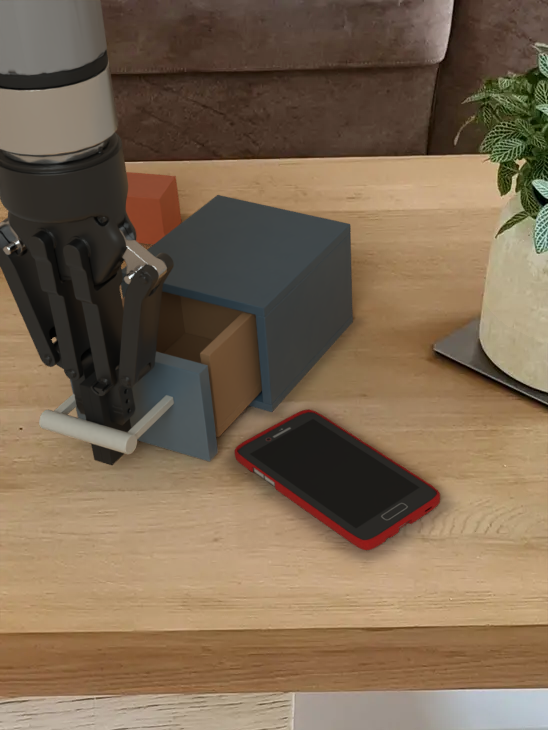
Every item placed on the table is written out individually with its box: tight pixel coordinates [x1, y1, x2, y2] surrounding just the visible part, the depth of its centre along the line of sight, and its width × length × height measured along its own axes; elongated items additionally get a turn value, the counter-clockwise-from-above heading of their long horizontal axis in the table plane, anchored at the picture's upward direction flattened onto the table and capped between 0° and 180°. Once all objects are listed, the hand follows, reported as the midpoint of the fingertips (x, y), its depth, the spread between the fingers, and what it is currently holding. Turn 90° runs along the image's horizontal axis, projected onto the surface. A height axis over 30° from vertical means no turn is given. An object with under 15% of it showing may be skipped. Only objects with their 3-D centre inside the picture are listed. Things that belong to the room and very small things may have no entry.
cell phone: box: [233, 409, 441, 551], centre depth 84 cm, size 8×15×1 cm, turn 46°
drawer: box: [38, 291, 262, 463], centre depth 87 cm, size 20×11×8 cm, turn 158°
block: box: [126, 171, 182, 245], centre depth 112 cm, size 5×5×5 cm
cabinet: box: [120, 194, 354, 413], centre depth 95 cm, size 15×13×10 cm
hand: (114, 451), depth 83 cm, fingers closed
